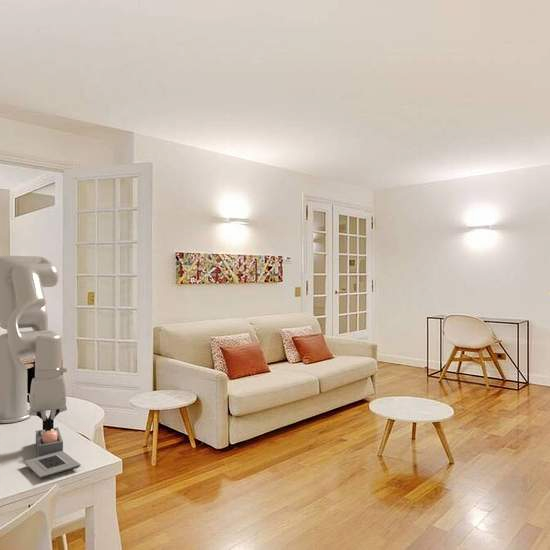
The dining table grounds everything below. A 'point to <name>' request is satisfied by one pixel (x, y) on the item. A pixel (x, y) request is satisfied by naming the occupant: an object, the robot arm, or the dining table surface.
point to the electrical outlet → (52, 464)
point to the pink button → (50, 436)
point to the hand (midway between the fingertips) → (48, 431)
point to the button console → (48, 444)
